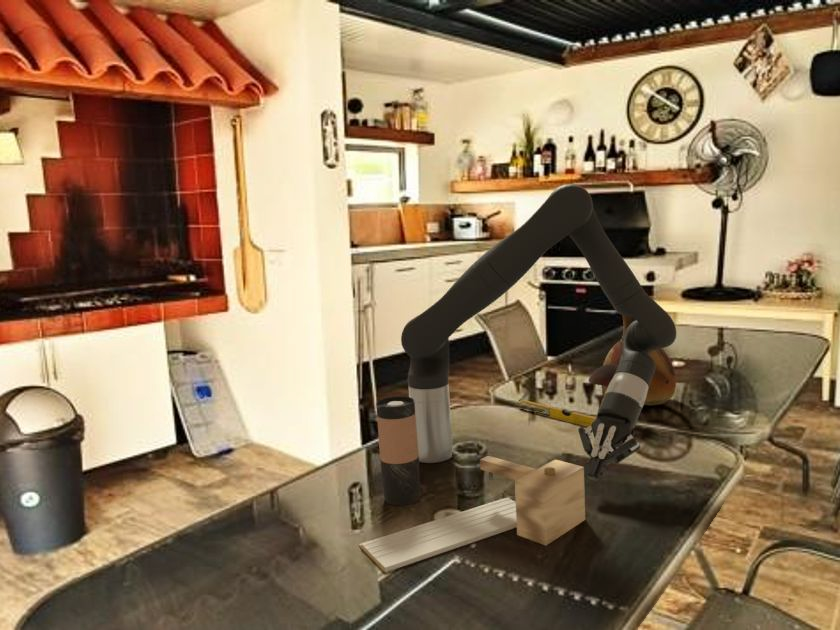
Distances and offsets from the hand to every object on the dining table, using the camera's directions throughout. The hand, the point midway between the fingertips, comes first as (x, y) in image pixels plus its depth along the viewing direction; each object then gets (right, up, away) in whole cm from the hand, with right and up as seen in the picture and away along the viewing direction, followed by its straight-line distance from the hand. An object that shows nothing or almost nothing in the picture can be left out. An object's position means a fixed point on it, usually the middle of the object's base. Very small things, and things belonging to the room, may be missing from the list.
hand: (592, 478), depth 127 cm
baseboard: (-27, -8, -8) cm, 30 cm away
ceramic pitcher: (+28, +7, +59) cm, 65 cm away
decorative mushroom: (+16, +4, +45) cm, 48 cm away
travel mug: (-36, -6, +7) cm, 37 cm away
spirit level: (+6, +3, +47) cm, 48 cm away
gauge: (-14, -6, -5) cm, 16 cm away
